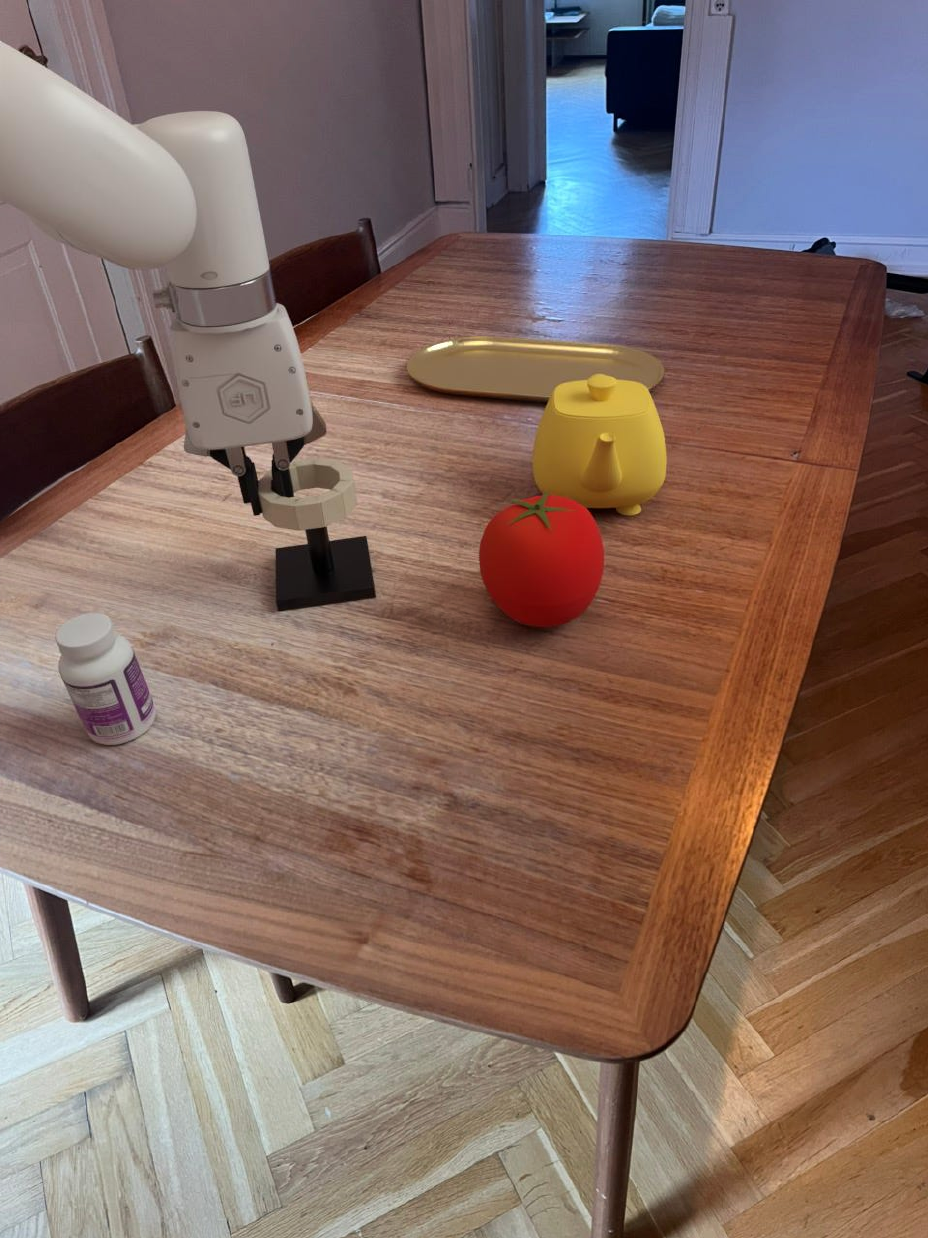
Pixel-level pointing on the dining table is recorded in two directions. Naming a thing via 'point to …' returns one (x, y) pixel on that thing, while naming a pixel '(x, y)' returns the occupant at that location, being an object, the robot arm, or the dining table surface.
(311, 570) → the peg stand
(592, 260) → the dining table surface
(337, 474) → the tape roll
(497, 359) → the serving platter
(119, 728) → the pill bottle
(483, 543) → the tomato
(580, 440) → the teapot
